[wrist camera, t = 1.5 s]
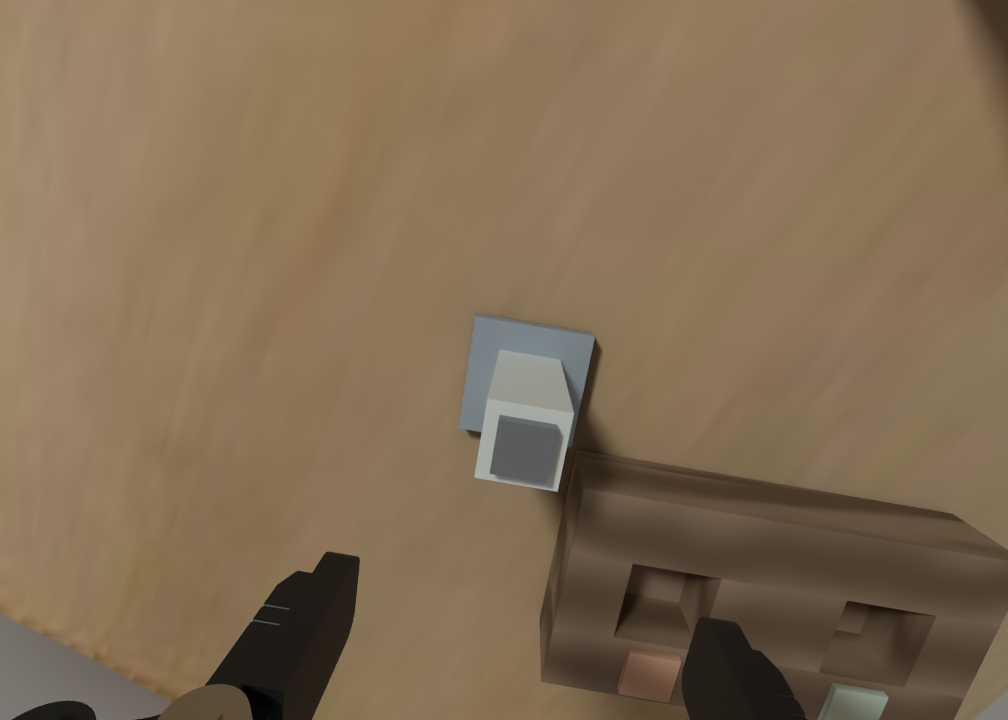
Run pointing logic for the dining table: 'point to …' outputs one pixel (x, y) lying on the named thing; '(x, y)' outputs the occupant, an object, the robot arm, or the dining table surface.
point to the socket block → (767, 589)
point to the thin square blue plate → (526, 340)
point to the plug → (525, 422)
